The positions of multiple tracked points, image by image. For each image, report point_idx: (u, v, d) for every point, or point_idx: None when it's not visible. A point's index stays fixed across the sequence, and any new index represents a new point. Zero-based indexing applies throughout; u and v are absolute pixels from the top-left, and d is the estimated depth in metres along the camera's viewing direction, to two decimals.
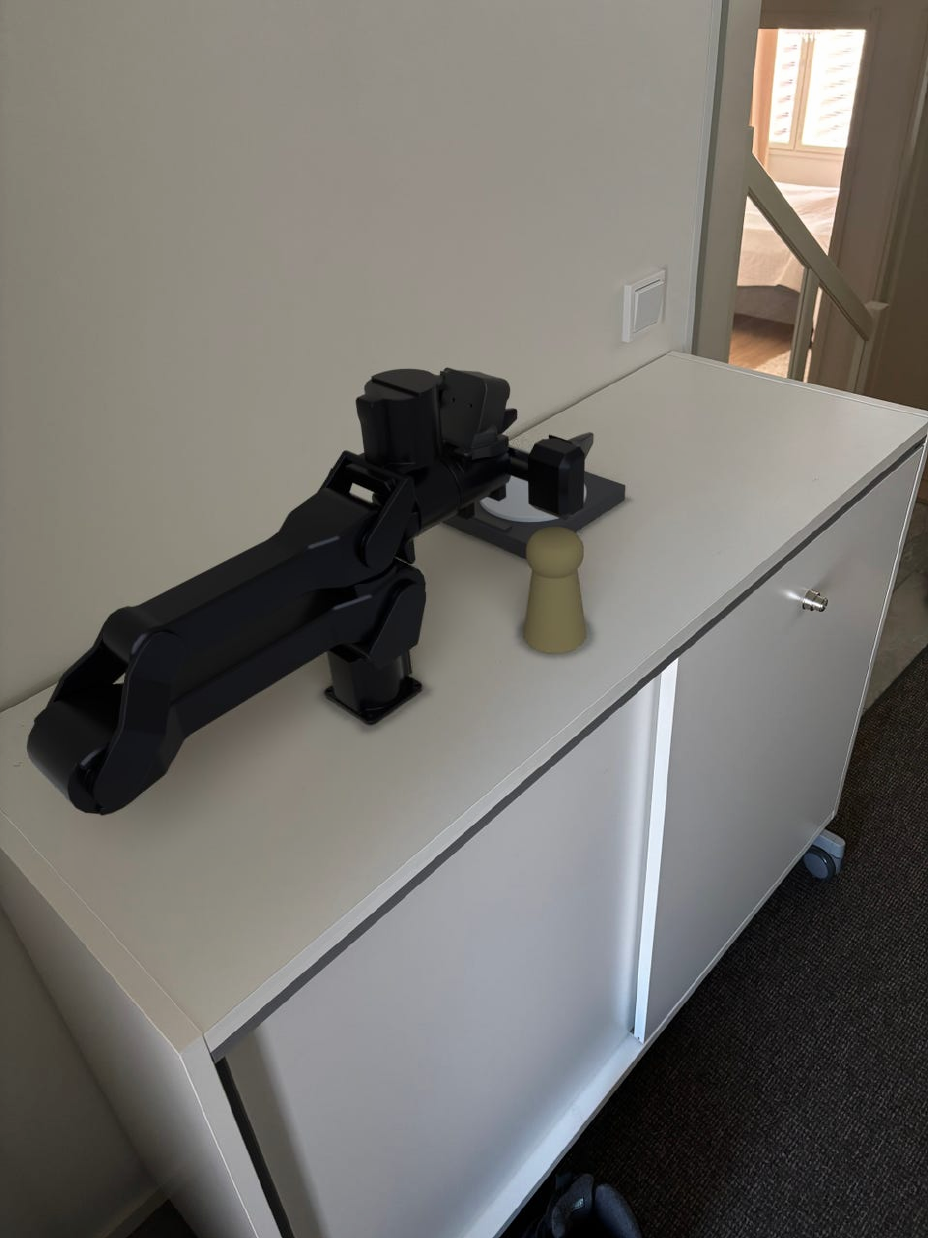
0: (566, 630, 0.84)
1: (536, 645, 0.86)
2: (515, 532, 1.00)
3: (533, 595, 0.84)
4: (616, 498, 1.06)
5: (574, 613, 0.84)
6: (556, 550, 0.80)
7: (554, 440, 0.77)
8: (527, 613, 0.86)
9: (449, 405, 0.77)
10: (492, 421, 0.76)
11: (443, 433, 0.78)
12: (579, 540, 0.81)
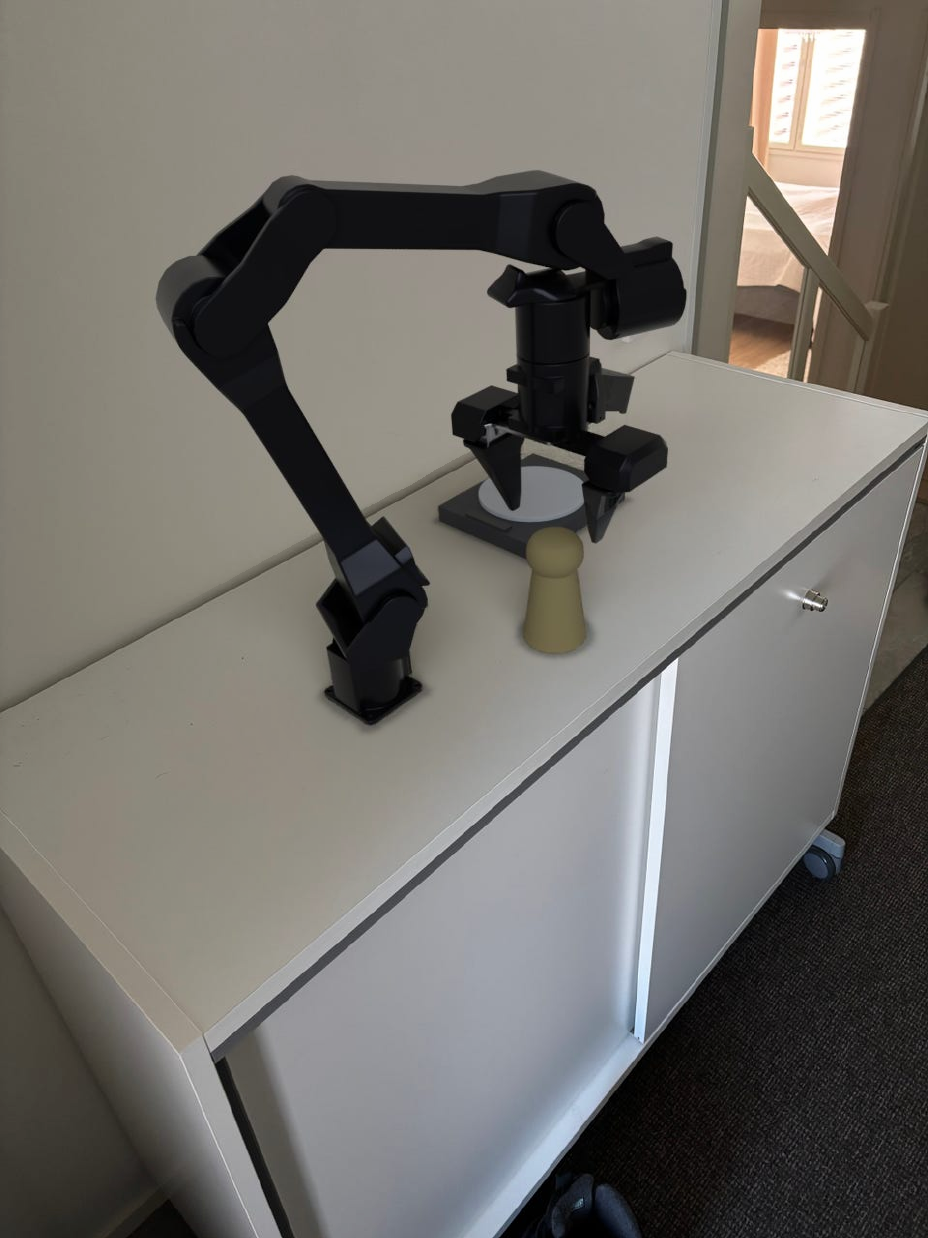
0: (566, 630, 0.84)
1: (536, 645, 0.86)
2: (515, 532, 1.00)
3: (533, 595, 0.84)
4: None
5: (574, 613, 0.84)
6: (556, 550, 0.80)
7: None
8: (527, 613, 0.86)
9: None
10: (613, 394, 0.76)
11: None
12: (579, 540, 0.81)
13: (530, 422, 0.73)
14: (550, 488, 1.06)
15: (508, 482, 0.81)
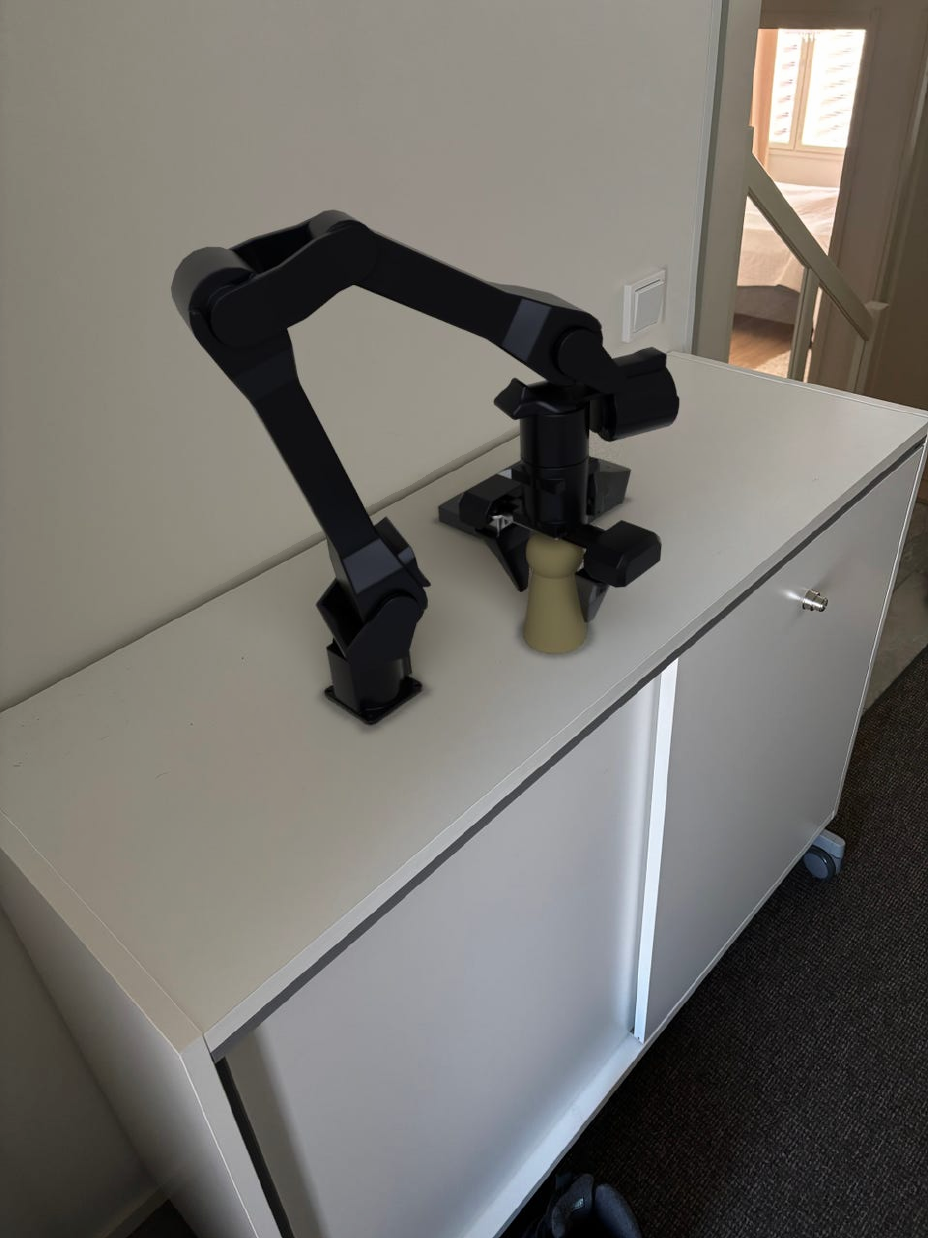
0: (566, 631, 0.84)
1: (536, 645, 0.86)
2: None
3: (533, 595, 0.84)
4: None
5: (574, 613, 0.84)
6: (556, 550, 0.80)
7: None
8: (527, 613, 0.86)
9: None
10: (611, 488, 0.81)
11: None
12: None
13: (533, 517, 0.78)
14: None
15: (517, 566, 0.86)
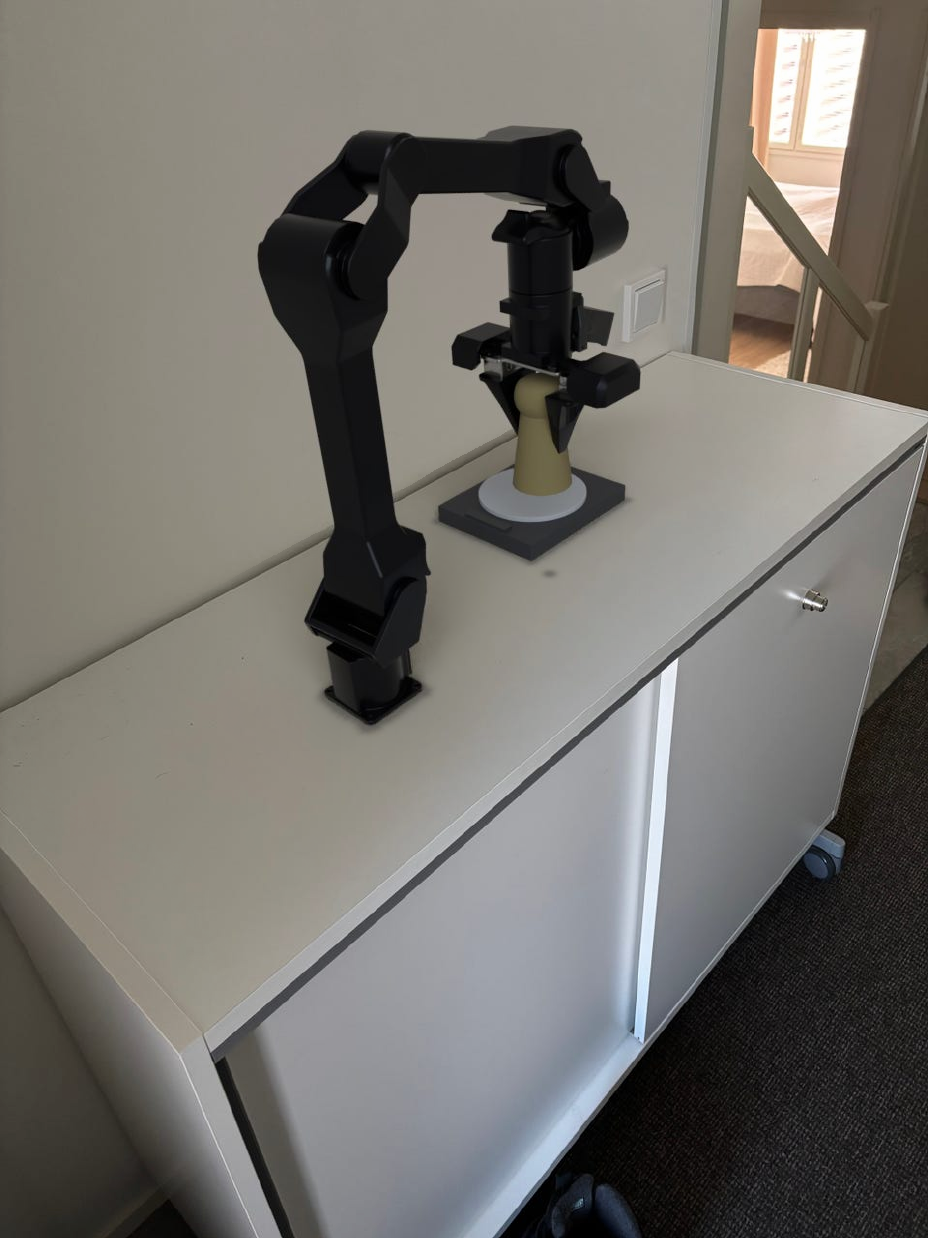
0: (552, 472, 0.90)
1: (524, 488, 0.91)
2: (515, 532, 1.00)
3: (521, 438, 0.89)
4: (616, 498, 1.06)
5: (560, 455, 0.89)
6: (542, 388, 0.85)
7: None
8: (516, 458, 0.91)
9: None
10: (594, 327, 0.86)
11: None
12: None
13: (520, 349, 0.83)
14: None
15: (519, 414, 0.90)
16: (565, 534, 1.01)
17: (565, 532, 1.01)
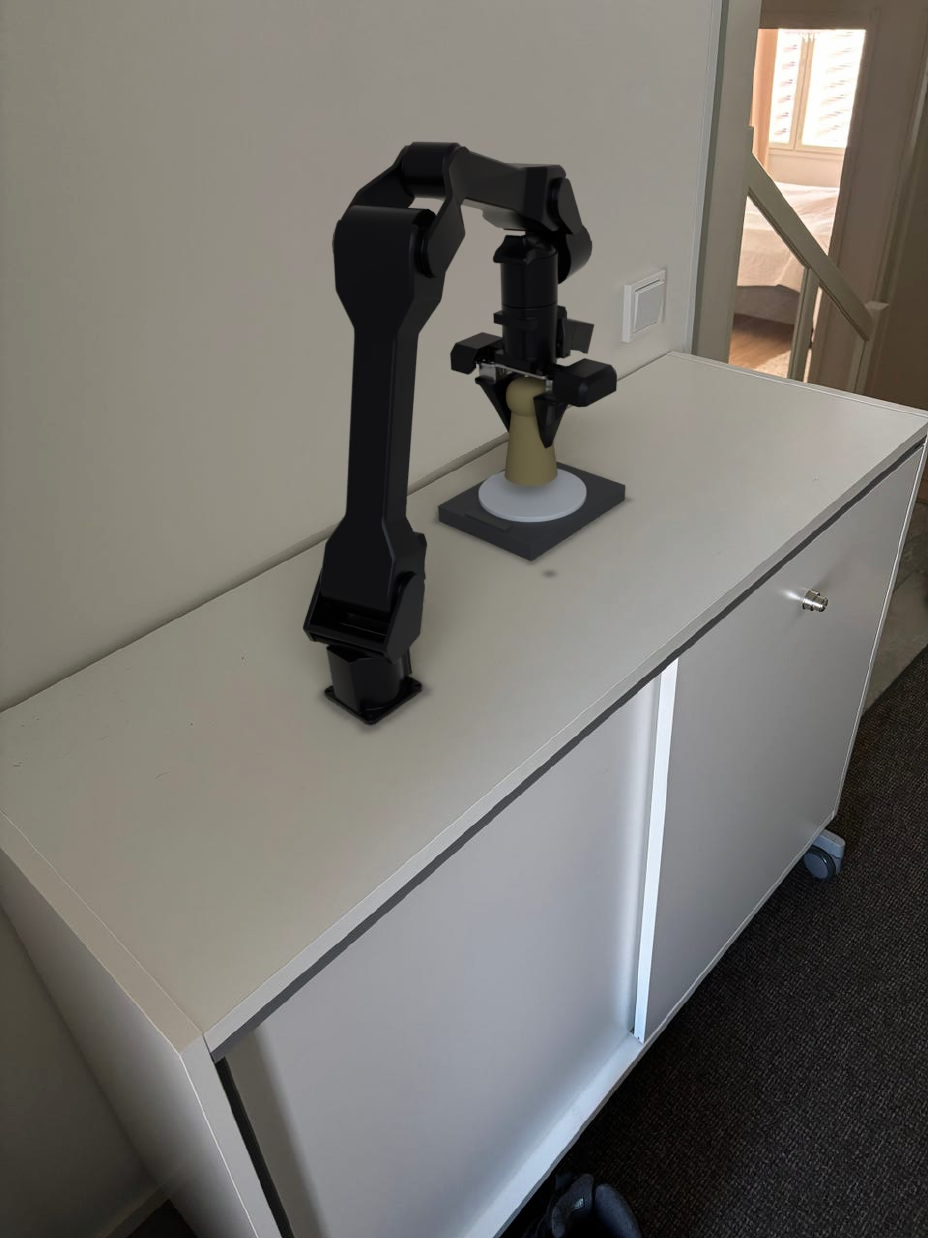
0: (539, 465, 1.01)
1: (515, 479, 1.02)
2: (515, 532, 1.00)
3: (512, 434, 1.00)
4: (616, 498, 1.06)
5: (546, 450, 1.00)
6: (531, 390, 0.96)
7: None
8: (507, 452, 1.02)
9: None
10: (577, 336, 0.97)
11: None
12: None
13: (511, 355, 0.94)
14: (550, 488, 1.06)
15: (510, 413, 1.01)
16: (565, 534, 1.01)
17: (565, 532, 1.01)
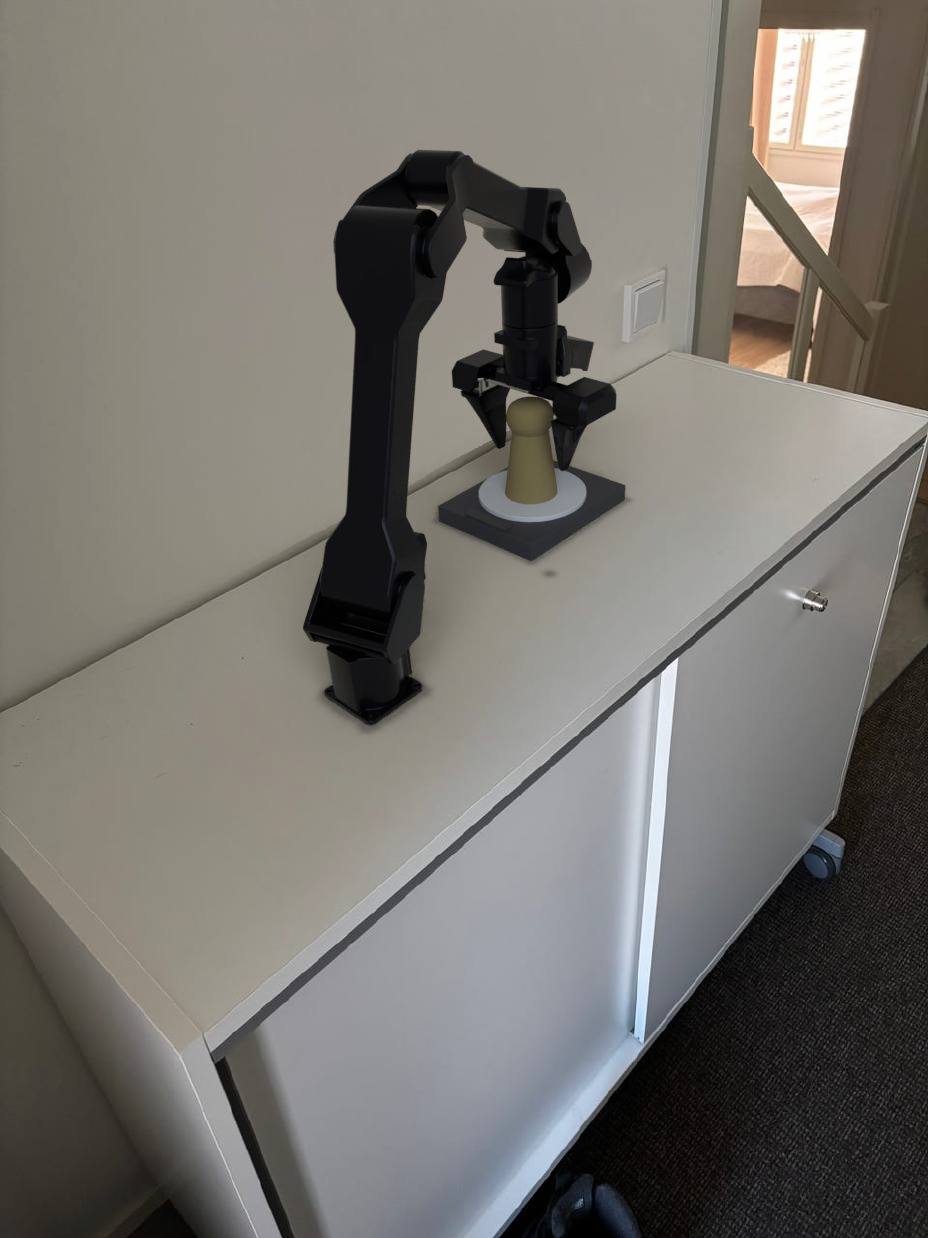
0: (539, 484, 1.02)
1: (515, 498, 1.04)
2: (515, 532, 1.00)
3: (512, 454, 1.02)
4: (616, 498, 1.06)
5: (546, 469, 1.02)
6: (530, 411, 0.98)
7: None
8: (508, 471, 1.04)
9: None
10: (576, 354, 0.98)
11: None
12: (550, 405, 0.99)
13: (512, 374, 0.96)
14: None
15: (496, 425, 1.04)
16: (565, 534, 1.01)
17: (565, 532, 1.01)
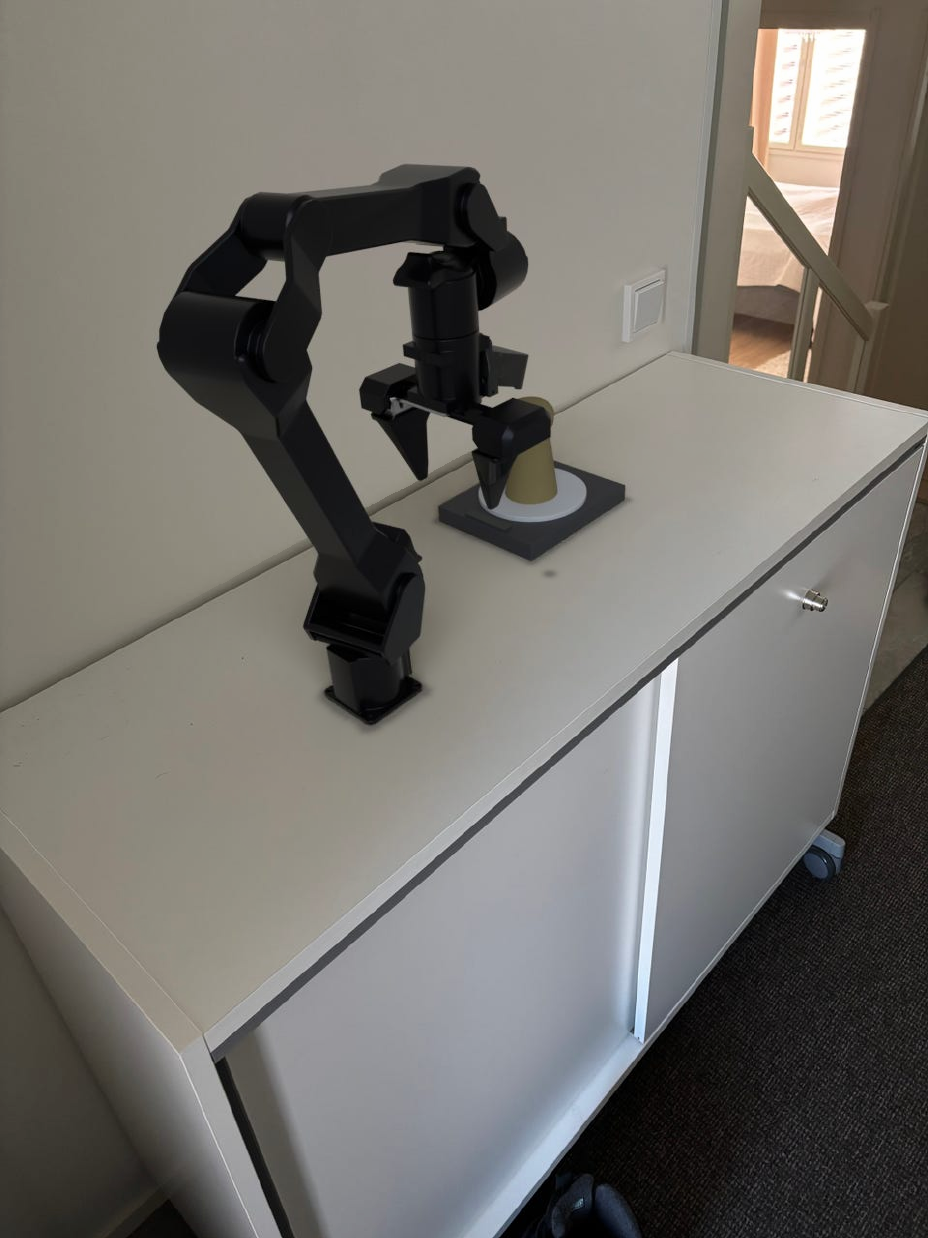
0: (539, 484, 1.02)
1: (515, 498, 1.04)
2: (515, 532, 1.00)
3: None
4: (616, 498, 1.06)
5: (546, 469, 1.02)
6: None
7: None
8: None
9: None
10: (506, 370, 0.82)
11: None
12: (550, 405, 0.99)
13: (425, 394, 0.79)
14: None
15: (414, 453, 0.87)
16: (565, 534, 1.01)
17: (565, 532, 1.01)
